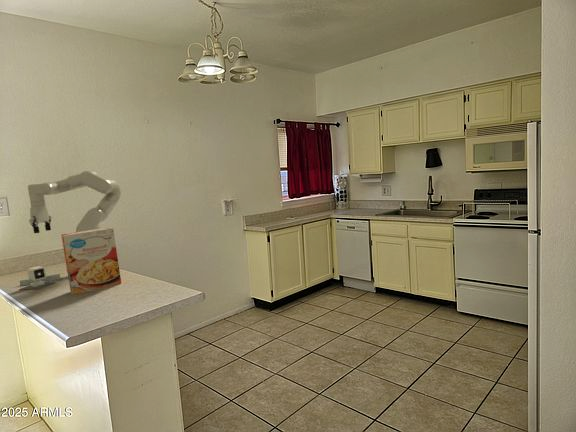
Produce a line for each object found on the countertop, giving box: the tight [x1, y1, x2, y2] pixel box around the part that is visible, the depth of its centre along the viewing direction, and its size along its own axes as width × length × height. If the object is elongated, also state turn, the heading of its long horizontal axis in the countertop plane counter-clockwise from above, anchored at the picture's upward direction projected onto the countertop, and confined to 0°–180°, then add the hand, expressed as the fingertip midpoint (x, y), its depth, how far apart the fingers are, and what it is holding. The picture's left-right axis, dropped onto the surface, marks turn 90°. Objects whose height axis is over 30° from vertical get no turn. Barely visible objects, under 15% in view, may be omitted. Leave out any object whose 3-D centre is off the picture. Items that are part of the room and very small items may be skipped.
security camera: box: [27, 265, 47, 287], centre depth 216 cm, size 6×7×10 cm
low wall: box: [19, 273, 61, 287], centre depth 225 cm, size 20×1×3 cm, turn 114°
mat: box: [18, 281, 56, 291], centre depth 216 cm, size 12×12×1 cm
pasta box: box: [61, 226, 122, 296], centre depth 200 cm, size 23×8×30 cm, turn 127°
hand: (42, 231), depth 239 cm, fingers open, 9 cm apart
